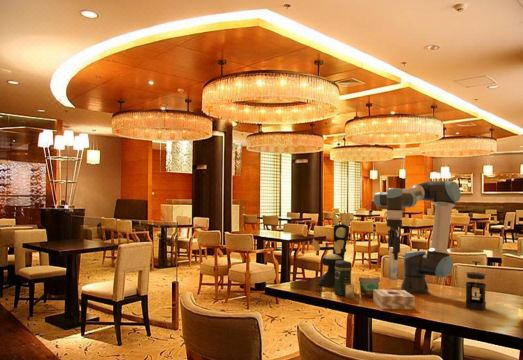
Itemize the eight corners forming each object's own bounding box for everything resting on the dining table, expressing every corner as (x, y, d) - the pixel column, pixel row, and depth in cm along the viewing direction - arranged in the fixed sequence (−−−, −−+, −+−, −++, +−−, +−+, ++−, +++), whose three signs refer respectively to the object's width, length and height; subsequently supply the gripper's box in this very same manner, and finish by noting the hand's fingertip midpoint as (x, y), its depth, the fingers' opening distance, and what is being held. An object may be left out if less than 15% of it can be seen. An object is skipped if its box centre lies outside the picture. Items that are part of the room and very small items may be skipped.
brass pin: (352, 297, 243) (353, 284, 244) (354, 299, 239) (354, 285, 239) (344, 297, 243) (344, 283, 244) (346, 298, 239) (346, 285, 239)
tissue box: (404, 301, 235) (404, 290, 236) (414, 309, 219) (414, 296, 220) (373, 301, 235) (373, 289, 236) (381, 308, 219) (381, 296, 220)
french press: (473, 304, 233) (474, 259, 234) (491, 308, 225) (491, 261, 225) (459, 307, 227) (459, 260, 227) (476, 311, 219) (476, 263, 219)
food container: (363, 297, 243) (364, 278, 243) (358, 295, 249) (358, 276, 249) (384, 297, 246) (384, 278, 246) (378, 294, 252) (378, 276, 252)
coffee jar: (353, 295, 247) (354, 261, 248) (340, 296, 244) (341, 261, 245) (344, 292, 256) (344, 259, 257) (331, 292, 253) (332, 259, 254)
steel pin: (396, 278, 230) (396, 246, 231) (399, 280, 226) (399, 247, 226) (387, 278, 230) (388, 246, 231) (390, 280, 226) (390, 247, 226)
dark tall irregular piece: (310, 284, 278) (311, 210, 279) (333, 280, 293) (334, 210, 294) (334, 289, 264) (336, 211, 265) (357, 285, 279) (359, 211, 280)
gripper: (382, 217, 238) (381, 263, 237) (391, 219, 220) (391, 268, 219) (396, 218, 238) (395, 263, 237) (407, 219, 220) (406, 268, 219)
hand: (393, 265), depth 228 cm, fingers closed on steel pin, 4 cm apart
